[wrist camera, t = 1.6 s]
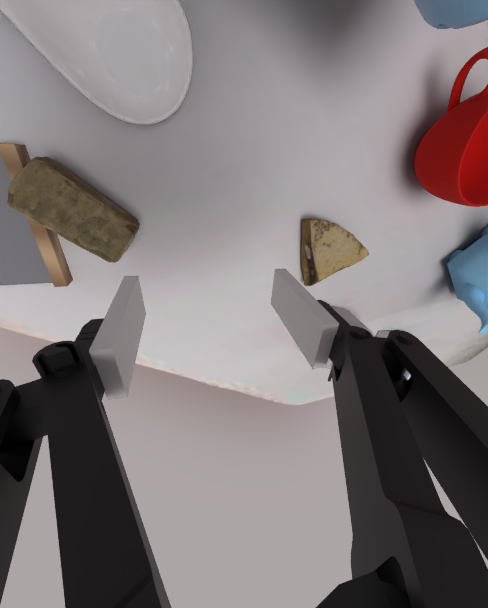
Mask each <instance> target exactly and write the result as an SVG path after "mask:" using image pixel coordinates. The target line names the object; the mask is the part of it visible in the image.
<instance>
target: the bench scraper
mask: <svg viewBox="0 0 488 608" xmlns="http://www.w3.org/2000/svg"><path fill="white" fill-rule="evenodd" d="M10 182H11V178H10V176H9V173H8V171H7V168H6V166H5V163H4V161H3V158H2V156H1V154H0V285H16V284H36V283H53V282H52V279H51V277H50V274H49V272H48V269H47V267H46V264H45V262H44V259H43V257H42V255H41V252H40V250H39V247H38V245H37V242H36V240H35V237H34V235H33V232H32V230H31V227H30V225H29V222H28V220H27V218H26V215H25V214H23V213H21V212H19V211H17V210H15V209H13V208H11V207H9V205H8V204H7V201H8V188H9V185H10Z"/></svg>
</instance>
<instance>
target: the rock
mask: <svg viewBox="0 0 488 608" xmlns="http://www.w3.org/2000/svg"><path fill="white" fill-rule="evenodd" d="M302 234H303V238H302V250H301V266H302V271H303V275H304V285H305V286H307V285H308V286H311V285H313V284H315V283H317V282H319V281H321V280H323V279H325V278H327V277H328V276H330V275H331V274H334V273H335V272H337V271H339V270H342V269H343V268H345V267H349V266H351V265H353V264H355V263H357V262H359V261H361V260H362V259H363V258H365V257H366V256H368V255H369V252H368V250H367V249H366V248H365V247H364V246H363V245H362V244H361V243H360V242H359V241H358V240H357V239H356V238H355V236H354V235H353V234H351V233H350V232H348V231H346V230H344V229H343V228H341V227H340V226H339V225H337V224H335V223H330V222H328V221H325V220H312V219H309V220H303V221H302Z"/></svg>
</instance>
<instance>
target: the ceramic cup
mask: <svg viewBox="0 0 488 608" xmlns="http://www.w3.org/2000/svg"><path fill="white" fill-rule="evenodd" d="M479 59H488V47H487V48H485V49H483V50H481V51H479V52H478V53H476V54H475V55H474V56H473V57H472V58H470V59H469V60H468V62H467V63H466V64H465V65H464V66H463V68H462V69H461V70H460V72H459V74H458V76H457V78H456V80H455V82H454V85H453V88H452V92H451V96H450V100H449V105H448V111H447V113H445V114H444V115H443V116H442V117H441V118H439V119H438V120H437V121H436V123H435V124H434V125H433V126H432V127H431V128H430V129H429V130H428V132H427V133H426V134H425V135H424V136H423V138H422V139H421V141H420V142H419V144H418V146H417V148H416V151H415V155H414V169H415V172H416V176H417V178H418V180H419V182H420V184H421V185H422V186H423V187H424V188H425V189H426V190H427V191H428V192H429V193H431V194H432V195H434V196H437V197H439V198H441V199H443V200H446V201H449V202H453V203H457V204H461V205H466V206H474V207H480V206H486V205H488V85H487V86H486V87H485V89H484V90H483V91H482V92H480V93H479V94H476V95H474V96H472V97H470V98H468V99H466V100H465V101H463V102H461V103H460V97H461V93H462V89H463V85H464V82H465V79H466V77H467V75H468V73H469V71H470V69H471V68H472V66H473V65H474V64H475V63H476V62H477V61H478V60H479Z"/></svg>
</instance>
